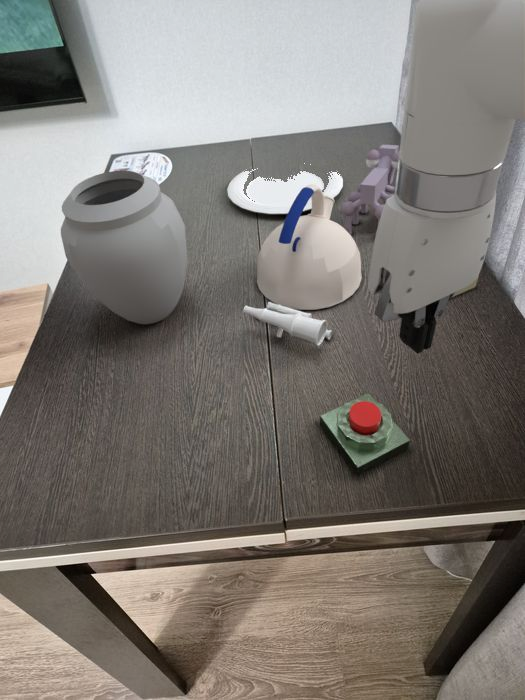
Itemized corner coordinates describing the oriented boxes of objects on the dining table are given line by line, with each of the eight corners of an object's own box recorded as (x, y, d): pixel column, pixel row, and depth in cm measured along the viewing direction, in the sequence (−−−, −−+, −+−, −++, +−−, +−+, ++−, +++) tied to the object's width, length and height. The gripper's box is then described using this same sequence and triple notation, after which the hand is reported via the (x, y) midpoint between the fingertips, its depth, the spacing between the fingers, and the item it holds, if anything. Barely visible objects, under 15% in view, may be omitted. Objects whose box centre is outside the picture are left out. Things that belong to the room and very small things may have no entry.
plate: (350, 215, 100) (351, 207, 99) (224, 225, 102) (223, 217, 101) (336, 161, 120) (336, 154, 119) (231, 171, 122) (230, 164, 121)
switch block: (407, 449, 58) (412, 432, 55) (356, 476, 56) (358, 460, 53) (367, 401, 63) (369, 384, 61) (319, 424, 62) (319, 407, 59)
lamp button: (386, 426, 56) (388, 418, 55) (360, 439, 55) (361, 431, 54) (368, 404, 59) (369, 396, 58) (342, 416, 58) (343, 408, 57)
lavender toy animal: (369, 193, 106) (374, 134, 97) (413, 200, 102) (423, 139, 92) (336, 234, 95) (339, 172, 85) (384, 244, 91) (393, 180, 81)
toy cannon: (255, 328, 79) (263, 299, 79) (326, 351, 74) (336, 321, 73) (234, 324, 72) (244, 293, 71) (312, 350, 66) (323, 316, 66)
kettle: (375, 257, 88) (385, 168, 75) (340, 322, 76) (345, 230, 63) (283, 240, 95) (278, 156, 82) (238, 297, 83) (223, 209, 70)
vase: (101, 291, 88) (48, 172, 71) (196, 270, 90) (167, 150, 73) (98, 358, 75) (32, 232, 57) (210, 332, 77) (178, 203, 59)
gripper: (481, 139, 39) (443, 300, 52) (339, 189, 35) (336, 349, 48) (556, 166, 34) (494, 337, 47) (400, 228, 30) (379, 394, 43)
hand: (414, 342), depth 47 cm, fingers closed
